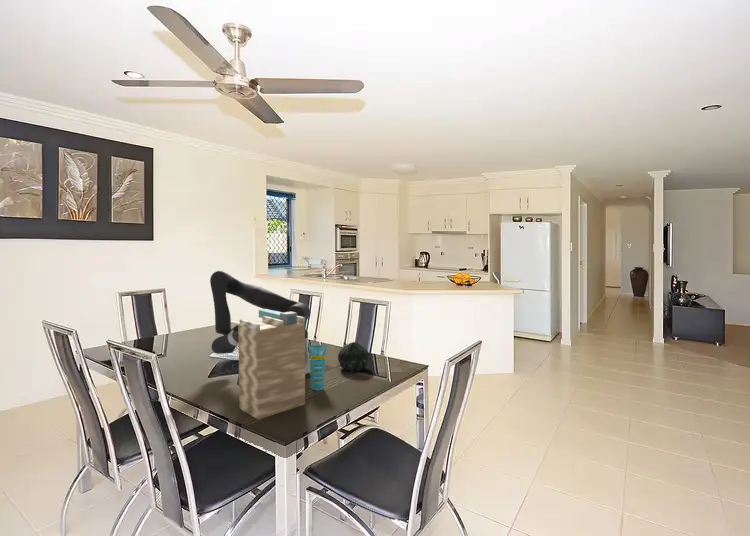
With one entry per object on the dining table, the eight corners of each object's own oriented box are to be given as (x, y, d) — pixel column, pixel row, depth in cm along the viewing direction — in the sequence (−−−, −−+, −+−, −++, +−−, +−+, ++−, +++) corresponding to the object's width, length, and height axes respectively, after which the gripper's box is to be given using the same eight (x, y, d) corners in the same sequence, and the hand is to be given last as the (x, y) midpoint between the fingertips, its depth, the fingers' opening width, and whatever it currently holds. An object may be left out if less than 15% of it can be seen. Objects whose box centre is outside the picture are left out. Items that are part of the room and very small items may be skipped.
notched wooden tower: (239, 408, 156) (238, 319, 153) (284, 394, 170) (284, 312, 168) (258, 419, 146) (257, 324, 144) (305, 404, 160) (304, 317, 158)
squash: (352, 351, 216) (342, 334, 206) (376, 357, 208) (367, 339, 199) (339, 375, 207) (328, 357, 198) (365, 381, 200) (354, 364, 190)
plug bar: (257, 317, 168) (256, 307, 167) (267, 315, 171) (267, 306, 171) (285, 325, 153) (285, 314, 153) (297, 323, 157) (297, 312, 156)
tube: (309, 391, 174) (309, 346, 172) (308, 387, 178) (308, 343, 177) (327, 390, 175) (327, 345, 174) (326, 386, 180) (326, 342, 179)
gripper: (222, 328, 180) (239, 315, 170) (252, 325, 190) (269, 313, 180) (226, 345, 178) (243, 333, 167) (255, 341, 188) (273, 329, 178)
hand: (257, 322), depth 174 cm, fingers open, 8 cm apart
